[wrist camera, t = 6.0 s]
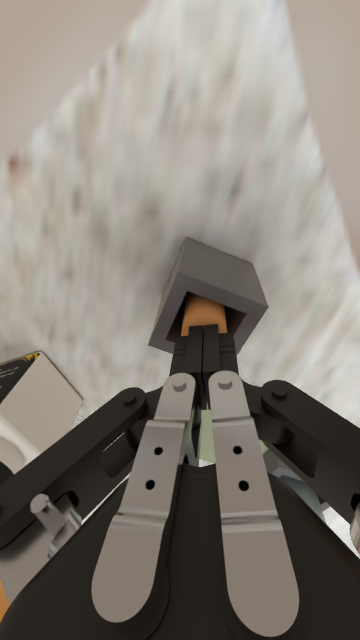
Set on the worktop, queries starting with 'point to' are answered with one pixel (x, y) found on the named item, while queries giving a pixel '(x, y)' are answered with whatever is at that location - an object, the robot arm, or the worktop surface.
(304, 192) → the worktop surface
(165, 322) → the gray square socket block
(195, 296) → the plunger
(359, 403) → the worktop surface
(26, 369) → the medicine bottle
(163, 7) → the worktop surface
